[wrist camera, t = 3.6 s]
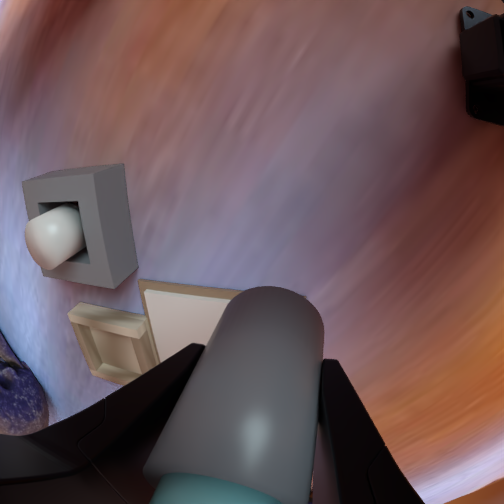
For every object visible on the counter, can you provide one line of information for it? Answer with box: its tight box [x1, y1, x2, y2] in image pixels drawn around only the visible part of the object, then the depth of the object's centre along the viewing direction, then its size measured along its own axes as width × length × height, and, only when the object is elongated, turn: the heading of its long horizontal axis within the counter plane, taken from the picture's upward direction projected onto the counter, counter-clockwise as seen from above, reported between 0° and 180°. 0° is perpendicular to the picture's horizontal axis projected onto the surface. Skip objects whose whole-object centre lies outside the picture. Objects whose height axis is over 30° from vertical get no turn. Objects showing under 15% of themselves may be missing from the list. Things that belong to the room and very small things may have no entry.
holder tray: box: [68, 302, 159, 386], centre depth 23 cm, size 7×7×2 cm
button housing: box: [22, 164, 138, 289], centre depth 18 cm, size 7×7×3 cm
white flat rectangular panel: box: [138, 279, 306, 364], centre depth 22 cm, size 11×15×1 cm
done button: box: [25, 203, 86, 270], centre depth 17 cm, size 3×3×3 cm
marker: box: [143, 286, 324, 504], centre depth 7 cm, size 3×3×7 cm
